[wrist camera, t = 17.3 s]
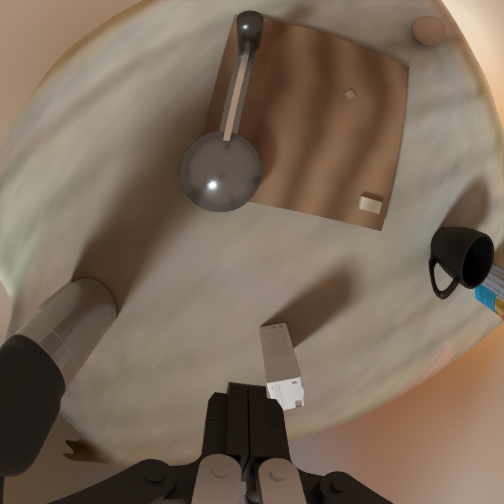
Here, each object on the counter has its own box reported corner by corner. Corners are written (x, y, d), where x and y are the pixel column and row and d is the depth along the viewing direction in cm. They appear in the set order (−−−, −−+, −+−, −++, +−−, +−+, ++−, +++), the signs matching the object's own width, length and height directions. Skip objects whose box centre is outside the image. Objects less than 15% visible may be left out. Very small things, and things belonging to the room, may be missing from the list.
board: (196, 190, 34) (192, 192, 31) (235, 21, 27) (234, 10, 24) (375, 227, 36) (384, 232, 33) (402, 70, 29) (412, 65, 26)
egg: (421, 54, 28) (445, 43, 21) (400, 30, 27) (421, 15, 20) (434, 43, 27) (457, 32, 20) (414, 20, 26) (435, 6, 19)
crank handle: (252, 215, 33) (255, 230, 25) (179, 202, 32) (159, 213, 24) (286, 50, 27) (298, 19, 19) (215, 38, 26) (207, 6, 18)
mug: (400, 256, 38) (435, 279, 29) (448, 209, 36) (487, 221, 27) (419, 291, 40) (450, 317, 31) (463, 246, 38) (498, 263, 29)
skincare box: (257, 326, 40) (262, 382, 29) (287, 320, 40) (301, 374, 29) (265, 357, 42) (271, 413, 30) (292, 351, 42) (306, 406, 30)
